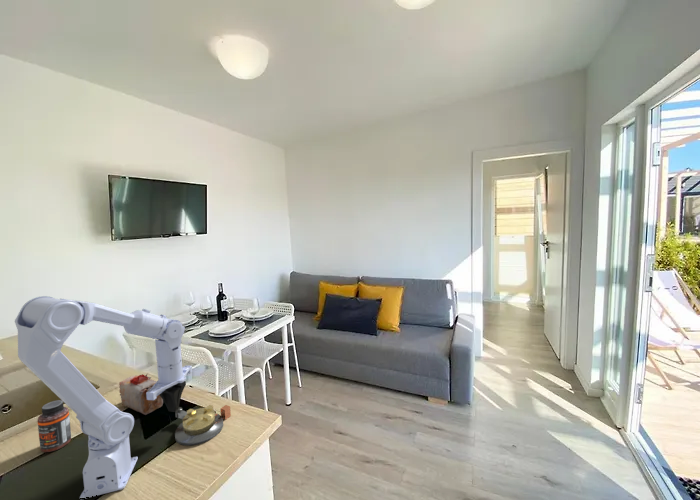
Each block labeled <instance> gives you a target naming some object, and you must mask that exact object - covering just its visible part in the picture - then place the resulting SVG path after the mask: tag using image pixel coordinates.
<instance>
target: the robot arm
mask: <svg viewBox="0 0 700 500" xmlns="http://www.w3.org/2000/svg"><path fill="white" fill-rule="evenodd" d="M93 321H96V322H101V323H105V324H109V325H116V326H121V327H123V329H124V330H125V332H126V333H127V334H128V335H129V334H130V335H133V336H138V337H144V338H147V339H153V340H154V343H155V354H156V365H157V366H156V368H157V377H158V380H156V383H155V384H154V386H153V387H152V388H151V389H150V390H149V391H148V392H146V396H147V400H155V399H156V398H157V397H156V396H158V395H160V396H161V398H162V399H163V403H164V404H165V406H166V409H167V410H168V413H169V412H171V413H175V411H177V410H178V408H179V407H180V403H181V398H182V394H183V392H184V389H185V388H186V385H187V382H186V380H187V377H186V376H187V375H189V374H192V373H193V366H192V365H184V366H183V361H182V360H183V359H182V346H181V345H182V338H183V335H184V333H185V330H186V327H185V326H183V323H182V322H181V321H180V320H179V319H174V318H168V317H167V315H165V314H154V313H151V310H149V309H146V308H142V309H141V310H139V309H138V310H137V309H136V310H133V311H132V312H130V313H129V312H128V311H127V312H126V311H123V310H119V309H116V308H112V307H110V306H106V305H102V304H99V303H96V302H91V301H83V300H76V299H75V300H74V299H67V298H55V297H52V296H47V295H43V296H37V297H33V298H31V299H29V300H28V301H27V302H26V303H24V305H22V306H21V308H20V310H19V312H18V314H17V316H16V317H15V319H14V324H15V326H16V330H17V356H18V359H19V360H20V361H21V362H22V363H23V365H25V366H26V368H28V369H29V370H30V371H31V372H32V373H33V374H34V375H35V376H36V377H37V378H38V379H39V380H40V381H41V382H42V383H43V384H44V385H45V386H47V388H49V389H50V390H51V392H52V393H54V394H55V395H56V396H57V397H58V398H59V399H60V400H61V401H63V404H65V405H67V406H66V407H67V408H70V410H71V411H72V412H74V414H76V416H75V418H76V419H77V420H78V421H79V424H80V430H81V432H82V433H83V434H84V435H87V436H88V440H87V447H88V457H87V460H86V462H85V464H84V466H83V469H82V479H83V487H84V488H83V491H82V492H81V494H80V496H79V499H80V498H85V499H87V498H86V497H89V498H92V496H93V497H96V495H97V496H100V495H104V494H108V493H113V492H117V491H120V490H123V489H125V487H126V485H127V483H128V481H129V479H130V477H131V475H132V472H133V470H134V468H135V466H136V463H137V461H138V456H133V457H131V455H132V454H131V445H130V434H131V432H132V431H133V429H134V425H135V418H134V416H133V415H132V414H131V413H129V412H124V411H121V410H120V409H119V408H118V407H117V406H115V405H114V404H112V403H111V402H110V401H109V400H107V399H106V398H105V397H104V396H103V395H102V394H101V393H100V392H99V390H98V389H96V387H95V386H94V385H93V384H92V383H91V382H90V381H89V380H88V378H86V377H85V375H83V373H82V372H81V371H80V370H79V369H78V368H77V367H76V366H75V365H74V364H73V363H72V362H71V360H70V359H69V358H68V357H67V356H66V355H65V354H64V353H63V352H62V351H61V350H62V348H63V346H64V344H65V342H66V341H67V340H68V339H69V337H70V336H71V335H72V334H73V333H74V332H75V330H76V329H77V328H78V327H79V326H81V325H82V326H85V325H87V324H89V323H90V322H93Z"/></svg>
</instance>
